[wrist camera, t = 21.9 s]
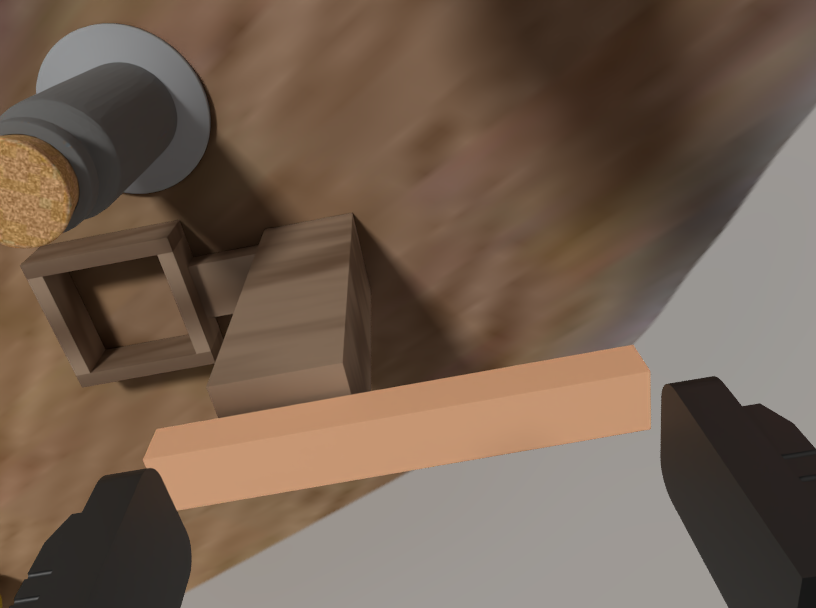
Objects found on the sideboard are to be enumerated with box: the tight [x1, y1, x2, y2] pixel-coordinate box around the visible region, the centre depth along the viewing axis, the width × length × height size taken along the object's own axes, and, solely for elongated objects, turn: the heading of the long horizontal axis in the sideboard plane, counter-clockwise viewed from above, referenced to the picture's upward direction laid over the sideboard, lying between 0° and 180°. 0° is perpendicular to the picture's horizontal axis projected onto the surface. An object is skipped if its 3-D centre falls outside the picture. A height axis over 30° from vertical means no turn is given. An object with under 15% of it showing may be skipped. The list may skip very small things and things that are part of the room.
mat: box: [36, 23, 211, 194], centre depth 40 cm, size 10×10×1 cm
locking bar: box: [143, 345, 651, 510], centre depth 29 cm, size 3×21×2 cm, turn 100°
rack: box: [20, 213, 371, 418], centre depth 38 cm, size 10×21×18 cm, turn 100°
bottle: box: [0, 62, 177, 248], centre depth 34 cm, size 6×6×15 cm
